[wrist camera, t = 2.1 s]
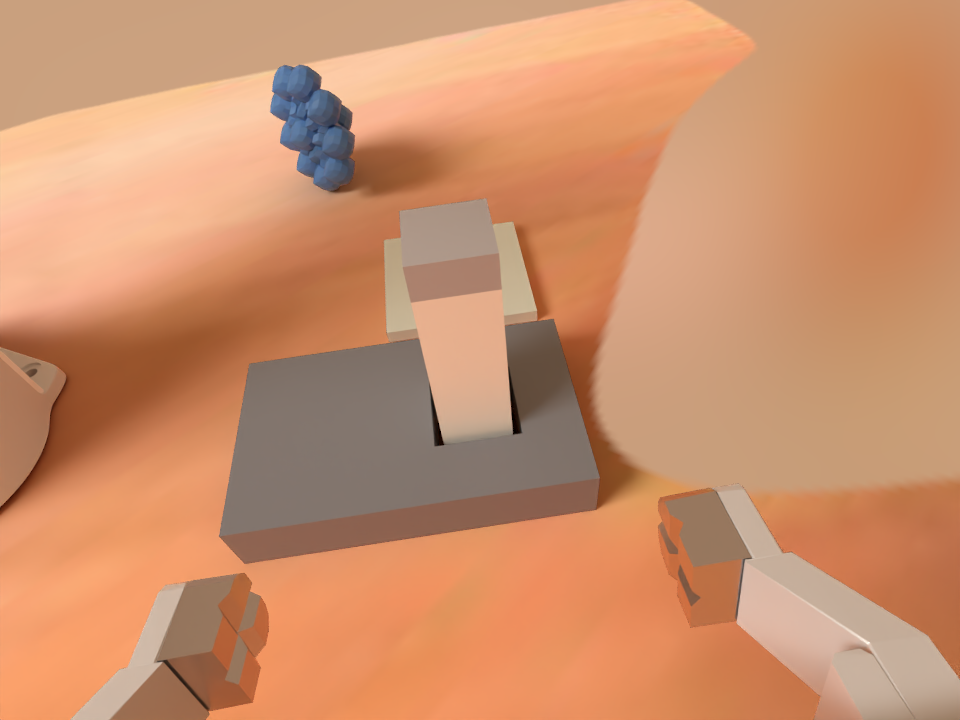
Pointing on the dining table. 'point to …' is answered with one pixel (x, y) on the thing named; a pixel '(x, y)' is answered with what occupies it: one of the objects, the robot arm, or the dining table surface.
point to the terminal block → (397, 451)
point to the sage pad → (513, 283)
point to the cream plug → (459, 316)
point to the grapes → (314, 126)
